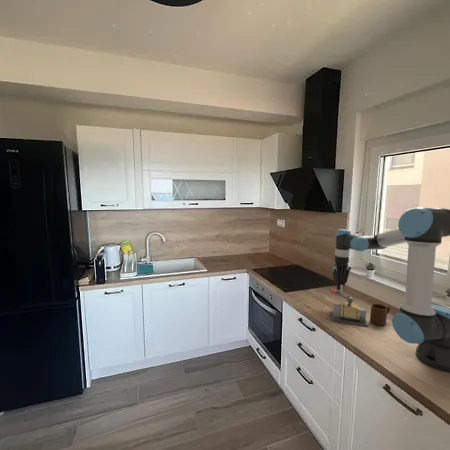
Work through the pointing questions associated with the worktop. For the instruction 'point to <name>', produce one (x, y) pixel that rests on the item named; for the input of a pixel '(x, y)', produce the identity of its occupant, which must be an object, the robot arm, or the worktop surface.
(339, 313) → the valve
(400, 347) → the worktop surface
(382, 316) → the mug
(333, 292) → the lever
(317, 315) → the worktop surface
